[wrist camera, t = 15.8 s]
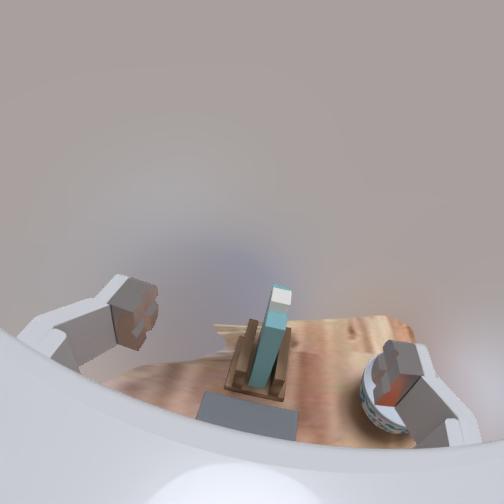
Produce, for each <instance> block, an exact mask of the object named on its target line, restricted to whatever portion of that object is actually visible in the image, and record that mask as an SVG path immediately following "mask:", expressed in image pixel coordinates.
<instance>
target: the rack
mask: <svg viewBox="0 0 504 504" xmlns="http://www.w3.org/2000/svg"><path fill="white" fill-rule="evenodd" d="M257 326H258V321H257V320H253V319H249V323H248V327H247V330H246V334H245V337H242V336H240V337H239V340H238V343H237V347H236V350H235V354H234V357H233V360H232V364H231V367H230V370H229V374H228V377H227V381H226V384H225V388H224V389H227V390H231V391H235V392H239V393H243V394H248V395H252V396H256V397H261V398H266V399H270V400H275V401H280V402H283V400H284V397H285V389H286V381H287V372H288V364H289V355H290V347H289V345H290V336H291V328H288V327H286V331H285V333H284V336H283V339H282V342H281V345H280V348H279V350H278V353H277V356H276V359H275V362H274V364H273V367H272V370H271V372H270V375H269V378H268V380H267V383H266V386H265V388H264V389H261V388H257V387H252V386H248V383H249V379H250V374H251V370H252V365H253V361H254V356H255V352H256V347H257V343H258V340H255V339H254V338H255V334H256V330H257Z"/></svg>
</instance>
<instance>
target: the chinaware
mask: <svg viewBox="0 0 504 504" xmlns="http://www.w3.org/2000/svg"><path fill="white" fill-rule="evenodd" d="M382 353H383V352H382ZM380 354H381V353H380ZM380 354H378V355H380ZM378 355H376V356H374V357H373V358H372V359H371V360H370V361H369V362H368V364H367V366H366V368H365V370H364V373H363V376H362V380H361V386H360V398H361V404H362V407H363V409H364V412H365V414H366V415H367V417H368V418H369V419H370V421H371V422H372V423H373V424H374V425H376V426H377V427H379V428H380V429H382V430H384V431H387V432H390V433H395V434H407V433H410V432H409V431H408V429H407V427H406V426H405V424H404V423H403V421H402V420H401V418H400V416H399V415H398V413H397V412H396V410H395V407H388V406H379V405H375V404H374V395H373V389H374V388H375V387H376V385H375V384H374V382H373V381H372V378H371V370H372V366H373V362H374V361H375V359H376V357H377V356H378ZM434 372H435V371H434ZM435 375H436V378H439V377H438V375H437V374H436V373H435Z"/></svg>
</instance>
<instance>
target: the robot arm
mask: <svg viewBox="0 0 504 504" xmlns="http://www.w3.org/2000/svg"><path fill="white" fill-rule="evenodd" d="M157 296H158V288H157V286H156V285H153V284H150V283H147V282H144V281H141V280H138V279H135V278H132V277H128V276H125V275H122V274H117V275H115V276H114V277H113V278H112V279H111V281H110V282H109V283H108V284H107V285H106V286H105V287H104V288H103V289H102V290H101V291H100V292H99V293H98V294H97V296H96V297H95V298H94V299H93V298H88V299H85V300H82V301H79V302H76V303H73V304H71V305H67V306H64V307H62V308H59V309H56V310H53V311H50V312H47V313H44V314H42V315H39V316H36V317H35V318H34V319H33V320H32V321H31V322H30V323H29V324H28V325H27V326H26V327H25V328H24V329H23V331H22V332H21V333H20V334H19V335H18V336H17V337H14V336H13V335H11V334H9V333H8V332H6V331H5V330H3V329H2V328H0V504H504V439H501V440H495V441H490V442H483V443H482V439H481V436H480V432H479V428H478V424H477V420H476V417H475V416H474V415H473V414H472V413H471V412H470V410H469V409H468V408H467V407H466V406H465V405H464V404H463V403H462V402H461V400H459V398H458V397H457V396H456V395H455V394H454V393H453V392H452V391H451V390H450V389H449V388H448V386H447V385H446V384H445V383H444V382H443V381H442V380H441V379H440V378H436V375H435V372H434V369H433V365H432V362H431V359H430V356H429V353H428V350H427V347H426V346H425V345H424V344H416V343H407V342H401V341H394V340H388V341H387V342H386V343H385V345H384V346H383V351H384V352H383V353H381V354H380V355H378V356H377V357H376V359H375V361H374V362H373V366H372V370H371V378H372V381H373V382H374V384H375V385H376V387H375V388H374V389H373V395H374V404H375V405H379V406H388V407H395V410H396V412H397V413H398V415H399V416H400V418H401V420H402V421H403V423H404V424H405V426H406V427H407V429H408V431H409V432H410V434H411V436H412V437H413V439H414V440H415V442H416V444H417V445H416V446H415V447H414V448H412V449H372V448H352V447H339V446H328V445H319V444H311V443H303V442H296V441H290V440H283V439H278V438H272V437H267V436H262V435H257V434H252V433H247V432H243V431H238V430H234V429H230V428H226V427H222V426H218V425H214V424H211V423H207V422H204V421H200V420H197V419H193V418H190V417H187V416H183V415H180V414H177V413H174V412H171V411H168V410H165V409H162V408H160V407H157V406H154V405H151V404H148V403H146V402H143V401H141V400H138V399H135V398H133V397H130V396H128V395H125V394H123V393H121V392H118V391H116V390H114V389H111V388H109V387H107V386H104V385H102V384H100V383H98V382H96V381H93V380H91V379H89V378H87V377H85V376H83V375H81V373H80V371H79V368H78V367H79V366H81V365H83V364H84V363H86V362H88V361H90V360H92V359H93V358H95V357H97V356H99V355H100V354H102V353H104V352H106V351H107V350H109V349H111V348H113V347H114V346H116V345H117V344H119V345H122V346H125V347H128V348H130V349H133V350H137V351H139V349H140V348H141V346H142V344H143V343H144V341H145V340H146V332H147V331H150V330H152V328H153V326H154V325H155V322H156V319H157V316H158V304H157V302H156V301H155V299H156V297H157Z"/></svg>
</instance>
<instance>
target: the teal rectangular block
mask: <svg viewBox="0 0 504 504" xmlns="http://www.w3.org/2000/svg"><path fill="white" fill-rule="evenodd" d="M291 294H292V292H291V291H290V288H288V287H284V286H280V285H275V284H273V287H272V291H271V295H270V299H269V303H268V306H267V310H266V314H265V317H264V321H263V325H262V328H261V332H260V336H259V339H258V343H257V347H256V352H255V356H254V361H253V365H252V370H251V374H250V379H249V383H248V386H252V387H257V388H261V389H264V388H265V386H266V383H267V380H268V378H269V375H270V372H271V370H272V367H273V364H274V362H275V359H276V356H277V353H278V350H279V348H280V345H281V342H282V339H283V336H284V333H285V331H286V322H287V314H288V311H289V308H290V304H291Z"/></svg>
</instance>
